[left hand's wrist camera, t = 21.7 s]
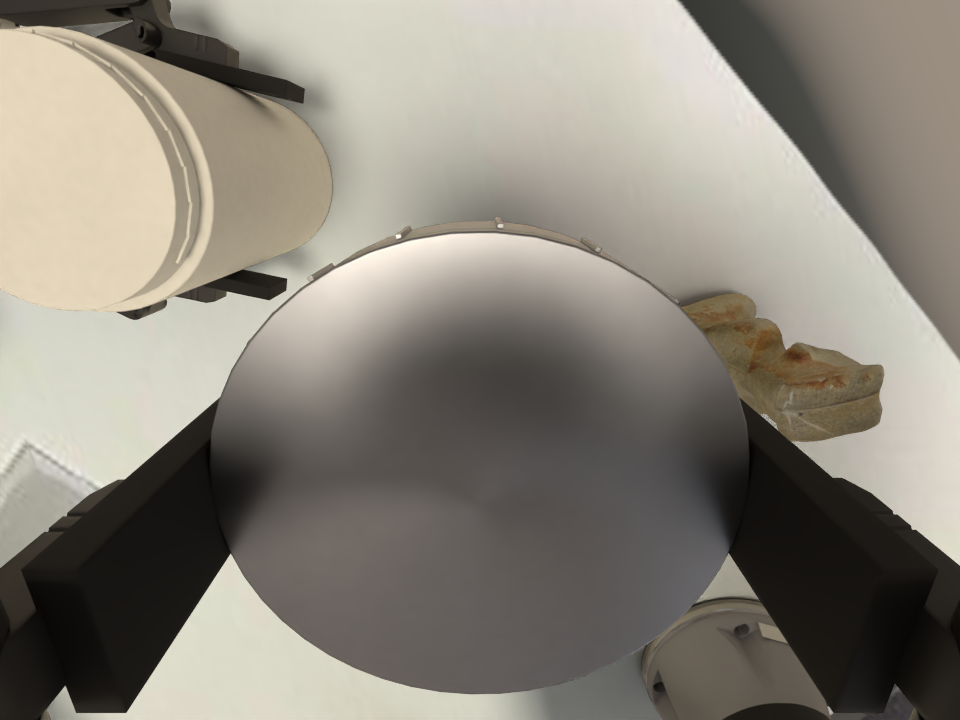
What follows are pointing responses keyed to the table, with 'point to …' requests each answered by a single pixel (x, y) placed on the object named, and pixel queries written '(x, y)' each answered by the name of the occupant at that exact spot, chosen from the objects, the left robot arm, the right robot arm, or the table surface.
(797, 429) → the sculpture
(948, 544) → the table surface
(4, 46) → the jar
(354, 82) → the table surface
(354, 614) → the lid
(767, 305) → the table surface
